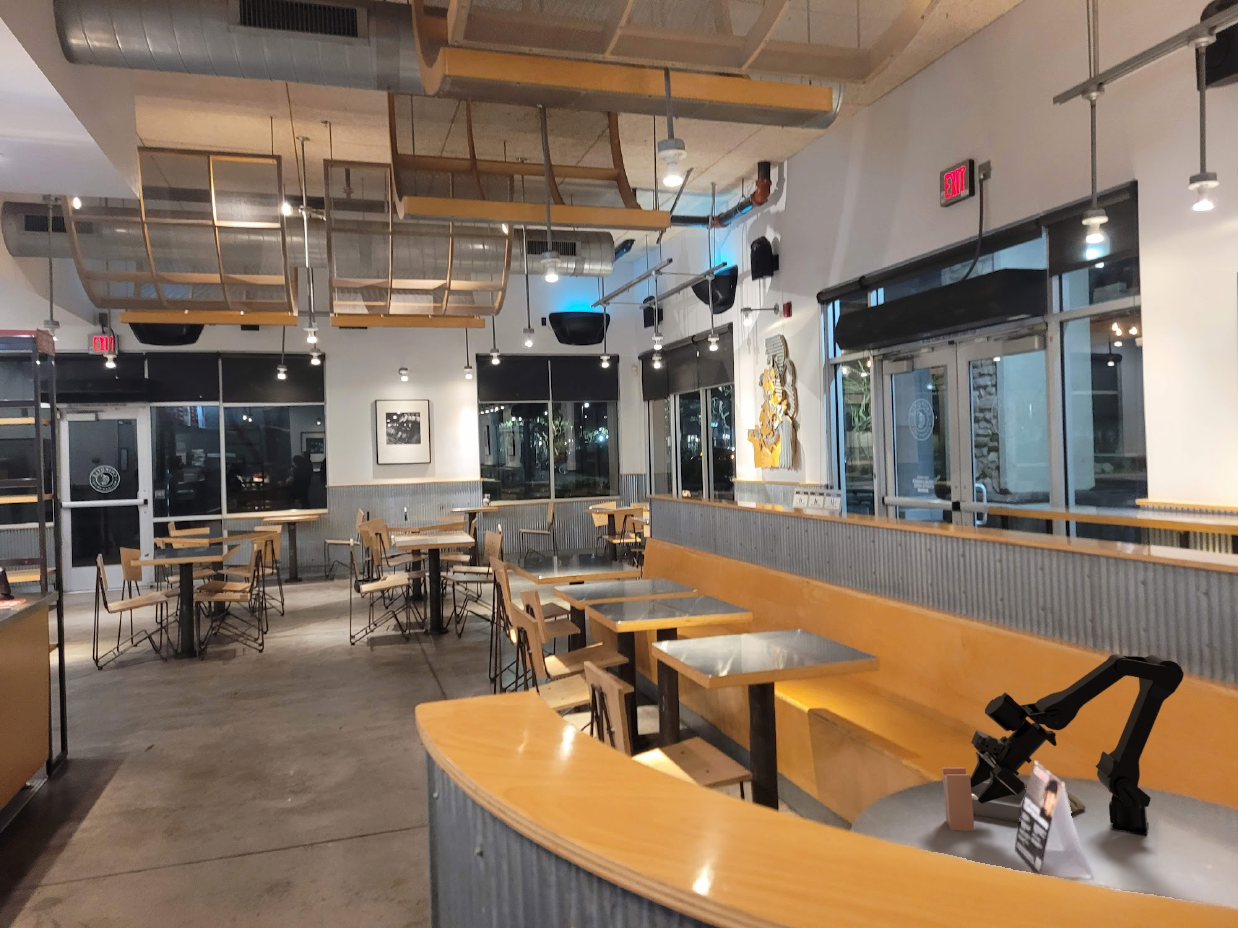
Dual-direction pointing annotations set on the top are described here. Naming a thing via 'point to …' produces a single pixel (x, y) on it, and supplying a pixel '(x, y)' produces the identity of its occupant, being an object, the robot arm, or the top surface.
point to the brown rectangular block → (958, 798)
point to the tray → (998, 805)
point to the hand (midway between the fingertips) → (974, 793)
